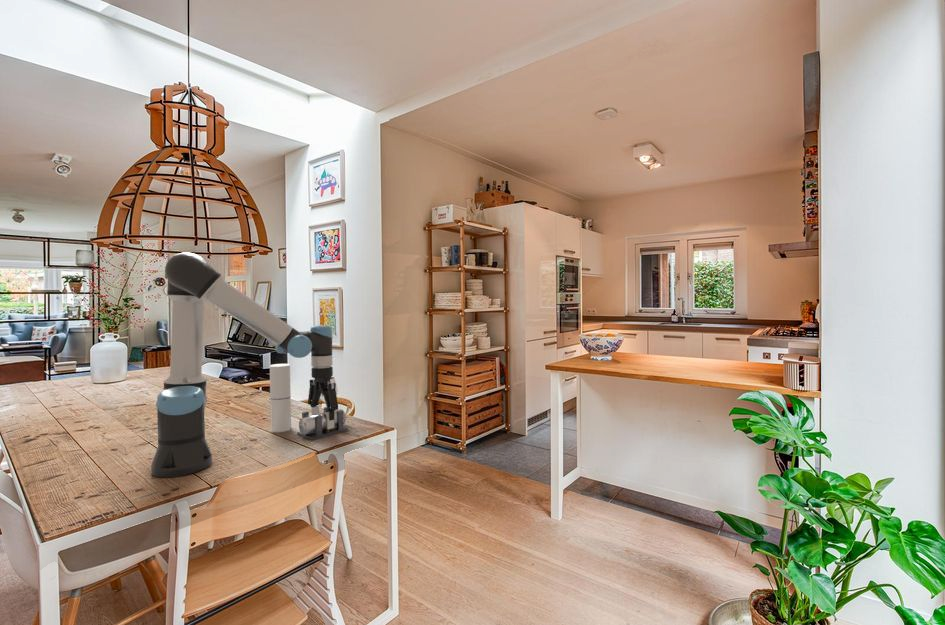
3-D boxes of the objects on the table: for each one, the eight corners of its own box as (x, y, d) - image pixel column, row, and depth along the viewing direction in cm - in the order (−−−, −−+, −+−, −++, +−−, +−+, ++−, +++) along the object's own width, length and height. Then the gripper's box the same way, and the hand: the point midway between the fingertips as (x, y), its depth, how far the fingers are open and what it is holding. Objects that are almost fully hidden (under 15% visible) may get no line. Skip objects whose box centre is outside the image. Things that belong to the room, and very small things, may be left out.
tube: (337, 423, 170) (336, 407, 170) (346, 425, 167) (345, 409, 166) (299, 433, 158) (298, 416, 158) (308, 436, 154) (307, 419, 154)
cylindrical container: (277, 433, 161) (275, 367, 160) (267, 430, 165) (266, 365, 165) (294, 429, 167) (293, 364, 166) (284, 425, 171) (283, 363, 170)
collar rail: (312, 440, 153) (311, 418, 153) (297, 434, 160) (296, 413, 159) (347, 430, 165) (347, 409, 165) (332, 425, 171) (332, 405, 171)
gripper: (348, 368, 158) (348, 429, 158) (315, 362, 171) (316, 418, 172) (329, 370, 152) (330, 434, 152) (297, 365, 165) (298, 423, 166)
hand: (322, 426), depth 162 cm, fingers open, 9 cm apart
